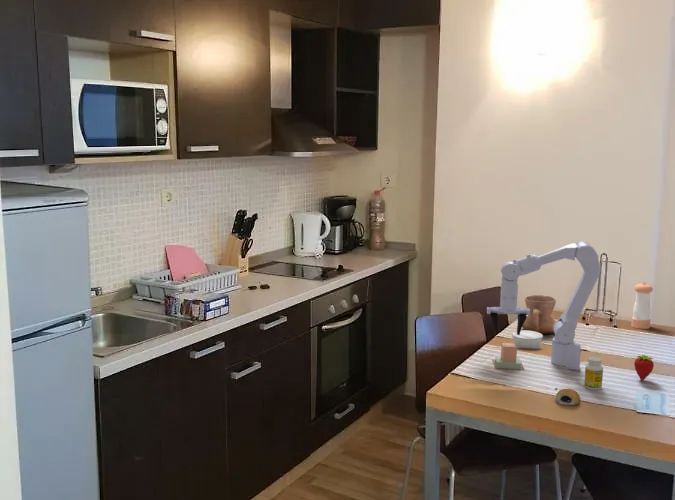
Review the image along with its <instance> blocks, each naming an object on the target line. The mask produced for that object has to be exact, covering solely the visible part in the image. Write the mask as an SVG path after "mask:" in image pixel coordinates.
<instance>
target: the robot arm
mask: <svg viewBox="0 0 675 500" xmlns="http://www.w3.org/2000/svg"><path fill="white" fill-rule="evenodd" d="M525 255H526V256H525V257H524V256H523V257H521V258H519V259H515V258H514V259H512V261H506V262H505V263H504V264H503V265H502V267H501V268H500V272H501V275H502V276H501V284H500V299H499V300H500V301H499V306H491V307H489V306H487V307H486V313H487V315H490V318H491V320H492V323H493V328H494V334H495V335H498V333H499V332H498V331H499V330H498V325H499V324H498V322H499V315H517V327H516V331H517V335H520V331H521V330H522V329H523V327H522V326H523V324H524V322H525V320H526V319H527V316H529V315H530V310H529V309H527V308H526V307H525V308H523V307H518V294H519V293H518V291H519V290H518V289H519V284H518V280H519V277H521V276H525V275H528V274H531V273H533V272H537V271H540V270H541V267H542V266H544V265H547V264H551V263H553V262H557V261H560V260H564V259H566V260H571V261H575V260H577V261H578V262H579V263H580V267H581V268H582V270H583V273H582V274H581V277H580V279H579V281H578V283H577V285H576V287H575V289H574V291H573V292H572V293H573V294H572V296H571V298H570V300H569V302H568V304H567V306H566V308H565V310H564V312H562V314H561V315H560V317H559V318H558V320H556V322H555V323H554V325H553V331H554V332H553V333H554V334H555V335H554V336H553V338H552V340H551V355H550V356H551V357H550V363H551V364H552V365H556V366H561V367H567V369H568V370H575V371H578V370H581V353H582V349H581V348H582V347H581V344H580V342H579V341H575V335H576V333H575V332H576V328H577V325H578V320H579V319H580V316H581V314H582V312H583V310H584V307H585V306H586V303H587V302H588V299H589V297H590V296H591V293H592V291H593V290H594V287H595V285H596V282H597V281H598V279H599V277H600V274H601V267H600V262H599V255H598V253H597V251H596V249H595V248H594V247H592V245H590V243H589V242H587V241H578V242H576V243H575V242H574V243H569V244H566V245H564V246H562V247H559V248H556V249H554V250H551V251H549V252H546V253H544V254H541V255H539V256H538V255H537V254H530V253H528V254H525ZM575 258H576V259H575Z"/></svg>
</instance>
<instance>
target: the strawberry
mask: <svg viewBox="0 0 675 500" xmlns="http://www.w3.org/2000/svg"><path fill="white" fill-rule="evenodd" d="M653 360H655V358H653V357H650V356H649V355H645V354H642V355H636V358H635V360H634V363H633V365H634V370H635V372H636V374H637V376H638V378H639V379H640V380H641V381H645V379H646V378H648V377H649V375H650V374H651V373H652V372H653V370H654V366H655V365H654V361H653Z"/></svg>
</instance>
